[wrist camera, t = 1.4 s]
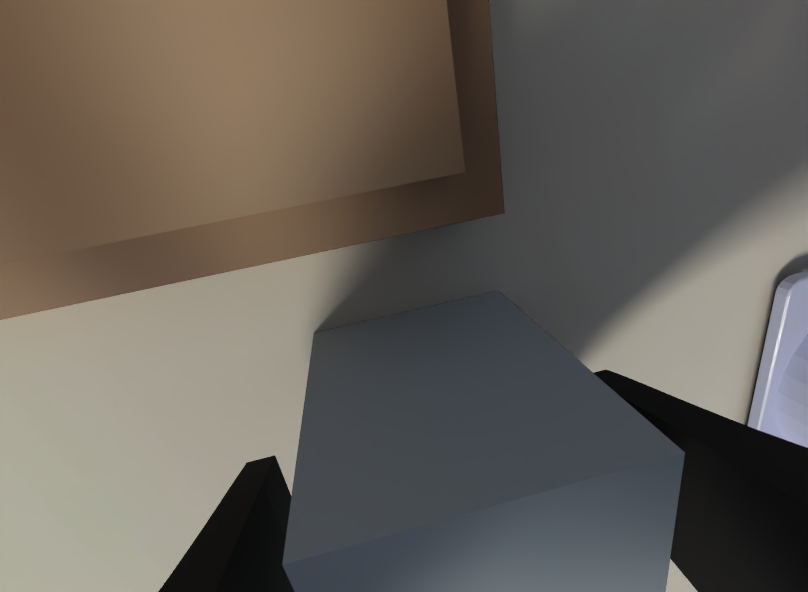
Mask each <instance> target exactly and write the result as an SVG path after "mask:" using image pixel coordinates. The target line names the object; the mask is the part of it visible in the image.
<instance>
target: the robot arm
mask: <svg viewBox="0 0 808 592" xmlns="http://www.w3.org/2000/svg"><path fill="white" fill-rule="evenodd" d="M594 374H595V375H596V376H597V377H598V378H600V379H601V380H602V381H603V382H604V383H605V384H606V385H608V386H609V387H610V388H611V389H612V390H613V391H615V392H616V393H617V394H618V395H619V396H620V397H621V398H623V399H624V400H625V401H626V402H627V403H628V404H630V405H631V406H632V407H633V408H634V409H635V410H636V411H638V412H639V413H640V414H641V415H642V416H643V417H644V418H646V419H647V420H648V421H649V422H650V423H651V424H653V425H654V426H655V427H656V428H657V429H658V430H659V431H661V432H662V433H663V434H664V435H665V436H666V437H668V438H669V439H670V440H671V441H672V442H673V443H674V444H676V445H677V446H678V447H679V448H680V449H681V450H682V451H684V452H685V456H684V464H683V471H682V478H681V485H680V492H679V499H678V506H677V513H676V520H675V527H674V534H673V541H672V548H671V555H670V559H671V560H672V561H673V562H674V563H675V564H676V566H677V567H678V568H679V569H680V570H681V572H682V573H683V574H684V575H685V576H686V578H687V579H688V580H689V581H690V582H691V584H692V585H693V586H694V587H695V589H696V590H697V591H698V592H808V271H804V272H800V273H796V274H793V275H790V276H788V277H786V278H785V279H784V280H783V281H781V283H780V284H779V285H778V287H777V289H776V292H775V297H774V302H773V306H772V311H771V316H770V320H769V325H768V330H767V335H766V339H765V344H764V349H763V354H762V358H761V363H760V368H759V373H758V377H757V382H756V387H755V391H754V396H753V401H752V406H751V410H750V415H749V420H748V425H747V426H746V425H743V424H741V423H738V422H736V421H733V420H730V419H728V418H725V417H723V416H720V415H718V414H715V413H713V412H710V411H708V410H705V409H703V408H700V407H698V406H695V405H693V404H690V403H688V402H686V401H683V400H681V399H678V398H676V397H673V396H671V395H669V394H666V393H664V392H661V391H659V390H657V389H654V388H652V387H649V386H647V385H644V384H642V383H640V382H637V381H635V380H632V379H630V378H627V377H625V376H622V375H620V374H617V373H614V372H611V371H609V370H603V371H599V372H595V373H594ZM290 504H291V494H290V492H289V489H288V487H287V484H286V482H285V479H284V477H283V474H282V472H281V469H280V467H279V464H278V462H277V459H276V457H275V456H271V457H267V458H263V459H260V460H256V461H252V462H248V463H246V465H245V466H244V468H243V469H242V471H241V472H240V474H239V475H238V477H237V478H236V479H235V481H234V482H233V484H232V485H231V487H230V488H229V490H228V491H227V493H226V494H225V496H224V497H223V499H222V501H221V502H220V504H219V505H218V507H217V508H216V510H215V511H214V513H213V514H212V516H211V517H210V519H209V520H208V522H207V523H206V525H205V526H204V528H203V529H202V530H201V532H200V533H199V535H198V536H197V538H196V539H195V541H194V542H193V544H192V545H191V546H190V548H189V549H188V551H187V552H186V554H185V555H184V557H183V558H182V560H181V561H180V562H179V564H178V565H177V567H176V568H175V570H174V571H173V572H172V574H171V575H170V577H169V578H168V579H167V581H166V582H165V583H164V585H163V586H162V588H161V589H160V590H159V592H294V590H293V587H292V585H291V583H290V581H289V579H288V576H287V574H286V572H285V570H284V568H283V565H282V563H283V555H284V548H285V541H286V533H287V526H288V519H289V512H290Z"/></svg>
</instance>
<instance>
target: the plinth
mask: <svg viewBox="0 0 808 592" xmlns="http://www.w3.org/2000/svg"><path fill="white" fill-rule="evenodd" d="M503 213H504V199H503V186H502V172H501V159H500V146H499V132H498V119H497V105H496V92H495V78H494V65H493V51H492V38H491V24H490V11H489V0H0V320H2V319H7V318H12V317H16V316H21V315H26V314H30V313H35V312H40V311H45V310H49V309H54V308H59V307H64V306H68V305H73V304H78V303H82V302H87V301H92V300H97V299H101V298H106V297H111V296H115V295H120V294H125V293H130V292H134V291H139V290H144V289H149V288H153V287H158V286H163V285H167V284H172V283H177V282H182V281H186V280H191V279H196V278H200V277H205V276H210V275H215V274H219V273H224V272H229V271H234V270H238V269H243V268H248V267H252V266H257V265H262V264H267V263H271V262H276V261H281V260H286V259H290V258H295V257H300V256H304V255H309V254H314V253H319V252H323V251H328V250H333V249H337V248H342V247H347V246H352V245H356V244H361V243H366V242H371V241H375V240H380V239H385V238H389V237H394V236H399V235H404V234H408V233H413V232H418V231H422V230H427V229H432V228H437V227H441V226H446V225H451V224H456V223H460V222H465V221H470V220H474V219H479V218H484V217H489V216H493V215H498V214H503Z"/></svg>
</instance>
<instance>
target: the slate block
mask: <svg viewBox="0 0 808 592" xmlns="http://www.w3.org/2000/svg"><path fill="white" fill-rule="evenodd" d="M684 456H685V452H684V451H682V450H681V449H680V448H679V447H678V446H677V445H676V444H674V443H673V442H672V441H671V440H670V439H669V438H668V437H666V436H665V435H664V434H663V433H662V432H661V431H659V430H658V429H657V428H656V427H655V426H654V425H653V424H651V423H650V422H649V421H648V420H647V419H646V418H644V417H643V416H642V415H641V414H640V413H639V412H638V411H636V410H635V409H634V408H633V407H632V406H631V405H630V404H628V403H627V402H626V401H625V400H624V399H623V398H621V397H620V396H619V395H618V394H617V393H616V392H615V391H613V390H612V389H611V388H610V387H609V386H608V385H606V384H605V383H604V382H603V381H602V380H601V379H600V378H598V377H597V376H596V375H595V374H594V373H593V372H592V371H590V370H589V369H588V368H587V367H586V366H585V365H583V364H582V363H581V362H580V361H579V360H578V359H577V358H575V357H574V356H573V355H572V354H571V353H570V352H568V351H567V350H566V349H565V348H564V347H563V346H562V345H560V344H559V343H558V342H557V341H556V340H555V339H554V338H552V337H551V336H550V335H549V334H548V333H547V332H545V331H544V330H543V329H542V328H541V327H540V326H539V325H537V324H536V323H535V322H534V321H533V320H532V319H530V318H529V317H528V316H527V315H526V314H525V313H524V312H522V311H521V310H520V309H519V308H518V307H517V306H516V305H514V304H513V303H512V302H511V301H510V300H509V299H507V298H506V297H505V296H504V295H503V294H502V293H501V292H499V291H494V292H490V293H485V294H481V295H476V296H472V297H468V298H463V299H459V300H455V301H450V302H446V303H441V304H437V305H433V306H428V307H424V308H420V309H415V310H411V311H406V312H402V313H398V314H393V315H389V316H385V317H380V318H376V319H371V320H367V321H363V322H358V323H354V324H350V325H345V326H341V327H337V328H332V329H328V330H323V331H319V332H315V333H314V336H313V343H312V351H311V358H310V365H309V373H308V380H307V387H306V395H305V402H304V409H303V416H302V424H301V431H300V438H299V446H298V453H297V460H296V468H295V475H294V482H293V490H292V497H291V504H290V512H289V519H288V526H287V533H286V541H285V548H284V555H283V563H282V565H283V568H284V570H285V572H286V574H287V576H288V579H289V581H290V583H291V585H292V587H293V590H294V592H665V591H666V584H667V577H668V570H669V563H670V555H671V548H672V541H673V534H674V527H675V520H676V513H677V506H678V499H679V492H680V485H681V478H682V471H683V464H684Z"/></svg>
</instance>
